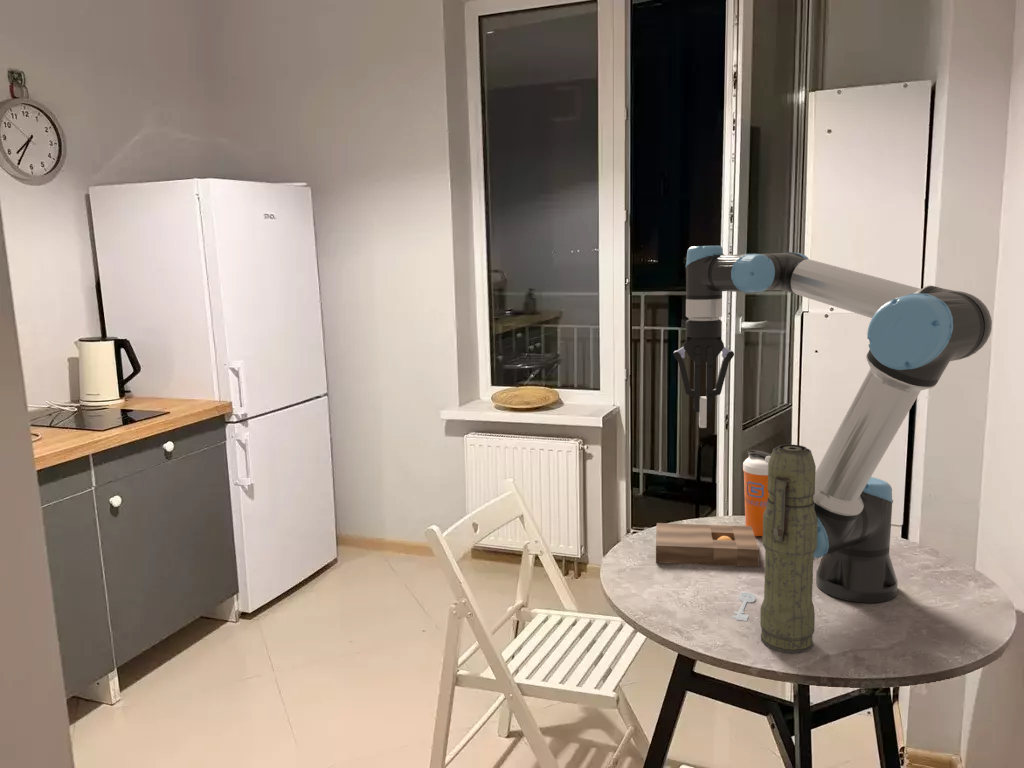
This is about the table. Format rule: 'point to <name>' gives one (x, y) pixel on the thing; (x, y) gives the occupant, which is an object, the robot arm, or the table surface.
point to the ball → (724, 538)
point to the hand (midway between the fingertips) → (702, 426)
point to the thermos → (789, 551)
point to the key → (743, 605)
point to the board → (706, 545)
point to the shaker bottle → (756, 489)
